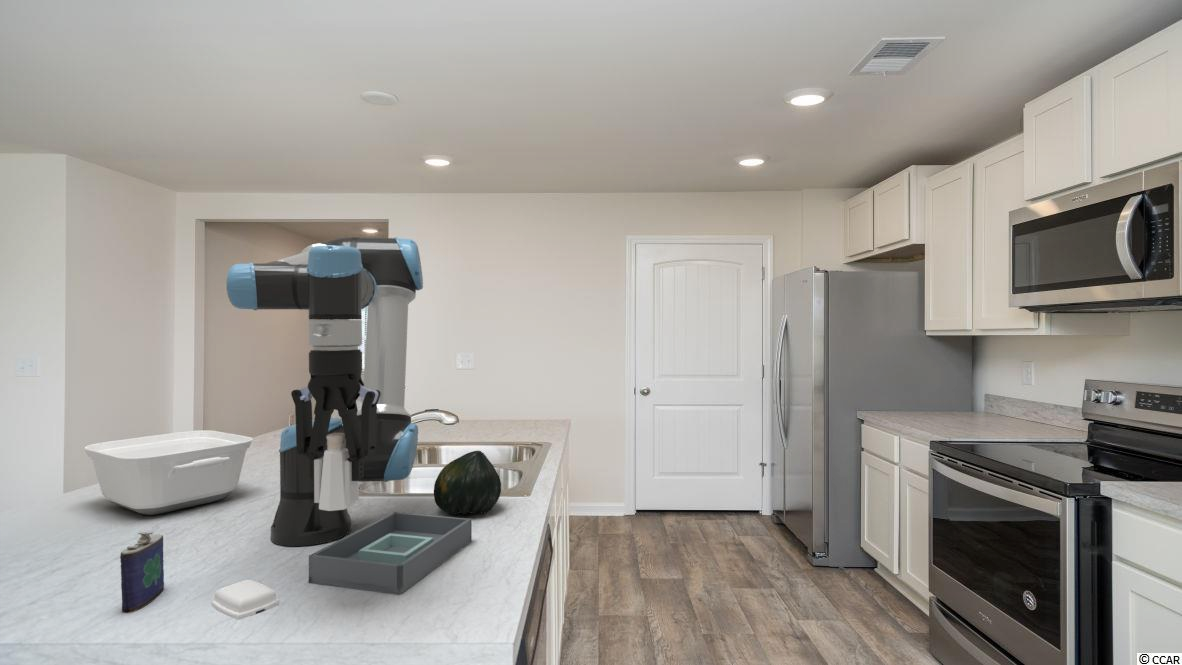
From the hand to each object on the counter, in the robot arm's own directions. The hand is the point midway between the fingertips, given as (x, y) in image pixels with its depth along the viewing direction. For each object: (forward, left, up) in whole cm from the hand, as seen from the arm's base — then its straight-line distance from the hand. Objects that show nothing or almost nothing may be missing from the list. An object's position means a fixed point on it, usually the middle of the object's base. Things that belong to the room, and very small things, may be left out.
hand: (336, 500), depth 96 cm
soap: (-14, -3, -17) cm, 22 cm away
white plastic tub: (-75, +37, -17) cm, 85 cm away
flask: (-31, -6, -17) cm, 35 cm away
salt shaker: (0, 0, -1) cm, 1 cm away
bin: (-2, +19, -16) cm, 25 cm away
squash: (-3, +50, -17) cm, 53 cm away
